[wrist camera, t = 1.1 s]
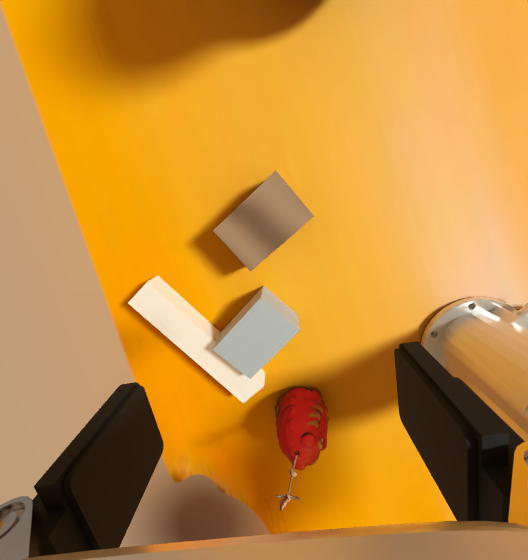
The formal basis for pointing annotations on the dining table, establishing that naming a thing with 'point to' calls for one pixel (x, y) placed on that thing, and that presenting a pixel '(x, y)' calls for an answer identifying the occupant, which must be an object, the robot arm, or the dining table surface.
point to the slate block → (257, 332)
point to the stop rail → (192, 335)
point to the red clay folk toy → (301, 430)
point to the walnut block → (263, 221)
